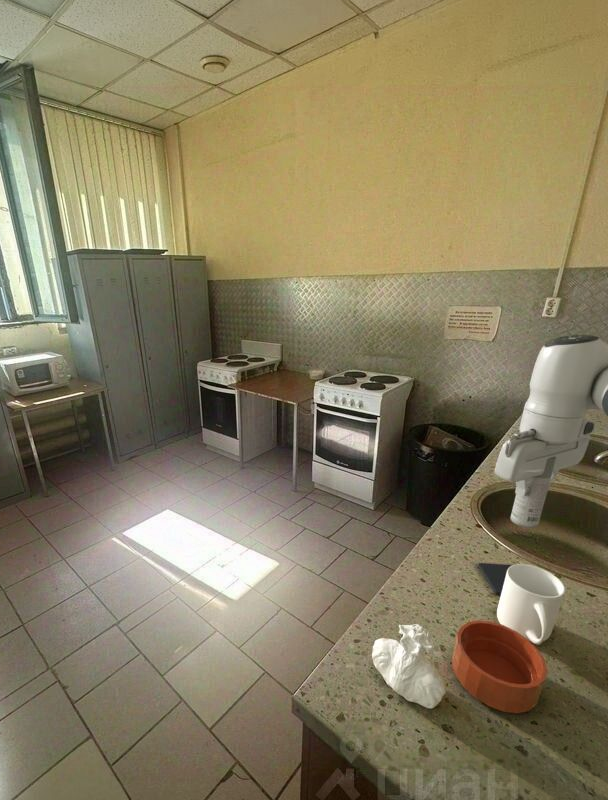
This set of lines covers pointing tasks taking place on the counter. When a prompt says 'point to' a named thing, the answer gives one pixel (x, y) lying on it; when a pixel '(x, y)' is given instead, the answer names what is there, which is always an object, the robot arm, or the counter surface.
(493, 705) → the bowl
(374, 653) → the white plastic bag
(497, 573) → the mat
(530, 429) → the robot arm
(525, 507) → the container
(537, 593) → the mug
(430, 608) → the counter surface
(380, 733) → the counter surface
